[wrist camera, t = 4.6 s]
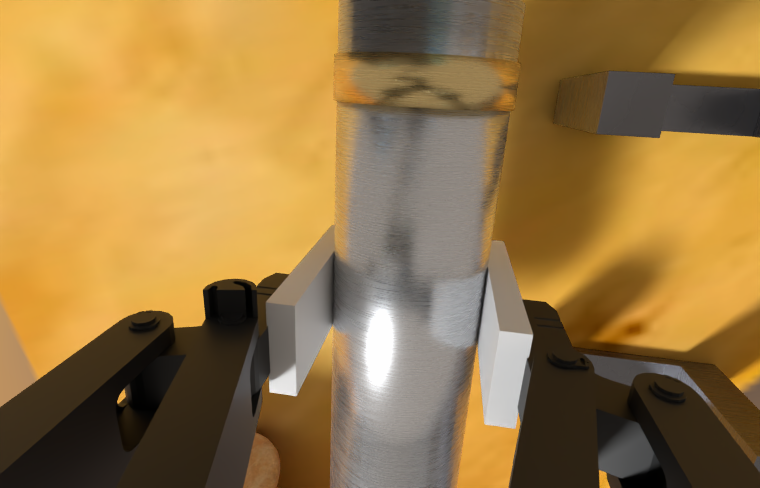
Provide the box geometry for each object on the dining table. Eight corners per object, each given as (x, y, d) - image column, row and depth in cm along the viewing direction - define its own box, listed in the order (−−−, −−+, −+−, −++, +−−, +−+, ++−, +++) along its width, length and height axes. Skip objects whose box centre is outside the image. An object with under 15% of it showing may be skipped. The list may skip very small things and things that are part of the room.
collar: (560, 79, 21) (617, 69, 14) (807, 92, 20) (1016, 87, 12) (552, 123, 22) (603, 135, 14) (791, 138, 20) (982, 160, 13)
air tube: (357, 16, 15) (309, -19, 10) (515, 21, 14) (547, -13, 9) (343, 441, 21) (310, 547, 16) (455, 459, 20) (455, 576, 15)
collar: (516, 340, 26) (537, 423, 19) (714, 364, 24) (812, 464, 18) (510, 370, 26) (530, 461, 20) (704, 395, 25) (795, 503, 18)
